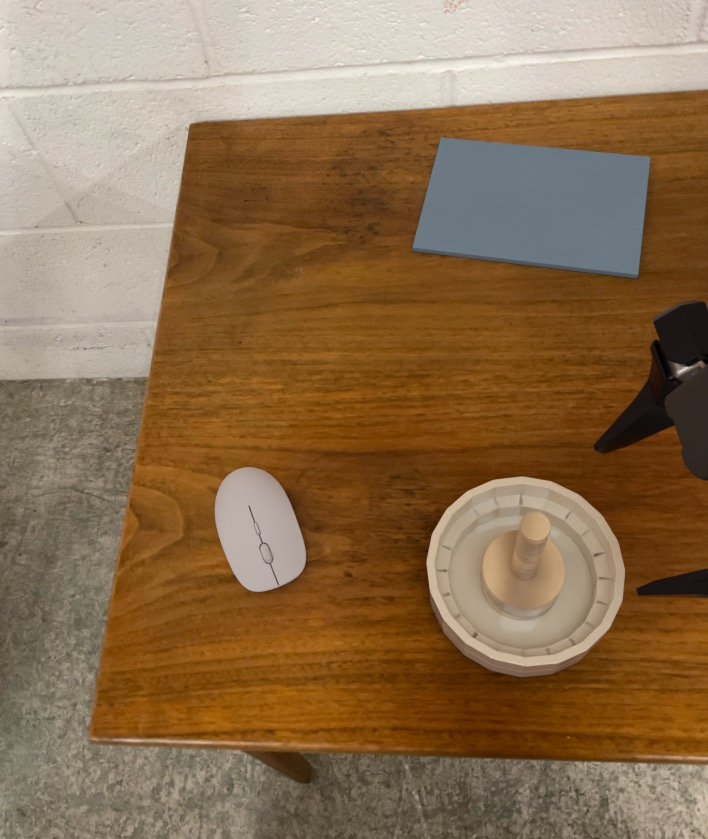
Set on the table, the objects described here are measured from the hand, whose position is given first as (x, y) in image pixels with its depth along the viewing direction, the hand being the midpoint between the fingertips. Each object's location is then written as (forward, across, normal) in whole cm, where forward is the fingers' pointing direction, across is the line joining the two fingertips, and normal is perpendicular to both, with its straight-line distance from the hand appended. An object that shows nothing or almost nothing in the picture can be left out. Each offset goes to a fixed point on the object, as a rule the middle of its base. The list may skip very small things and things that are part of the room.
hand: (617, 518), depth 48 cm
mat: (+6, -35, +11) cm, 37 cm away
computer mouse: (+25, -7, -8) cm, 27 cm away
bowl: (+12, 0, +5) cm, 13 cm away
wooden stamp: (+11, 0, +4) cm, 12 cm away
